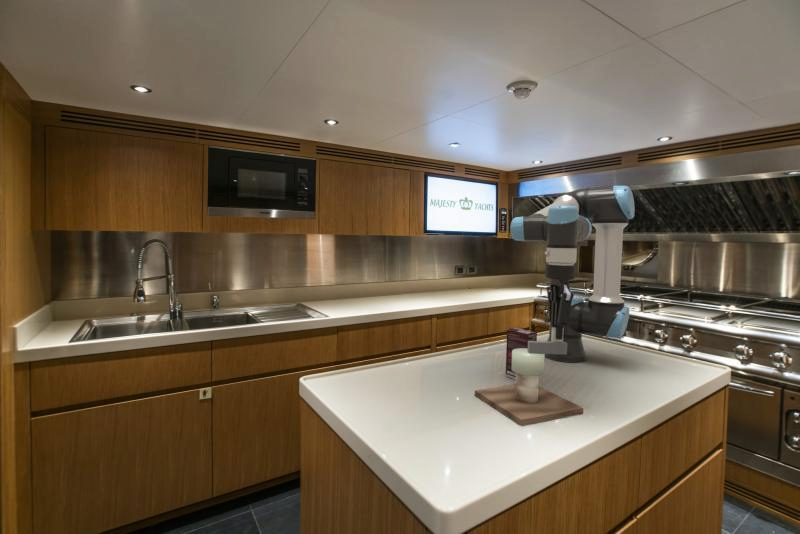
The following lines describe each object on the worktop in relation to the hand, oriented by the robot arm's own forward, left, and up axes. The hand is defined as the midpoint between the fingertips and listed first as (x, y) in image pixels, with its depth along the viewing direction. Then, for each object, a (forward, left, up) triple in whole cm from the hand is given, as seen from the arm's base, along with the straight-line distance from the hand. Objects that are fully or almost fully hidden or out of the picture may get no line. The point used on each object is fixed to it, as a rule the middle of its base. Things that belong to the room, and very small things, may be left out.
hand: (556, 350), depth 107 cm
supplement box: (-19, +4, -15) cm, 25 cm away
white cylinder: (-1, -5, -6) cm, 8 cm away
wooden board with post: (-2, -8, -15) cm, 17 cm away
